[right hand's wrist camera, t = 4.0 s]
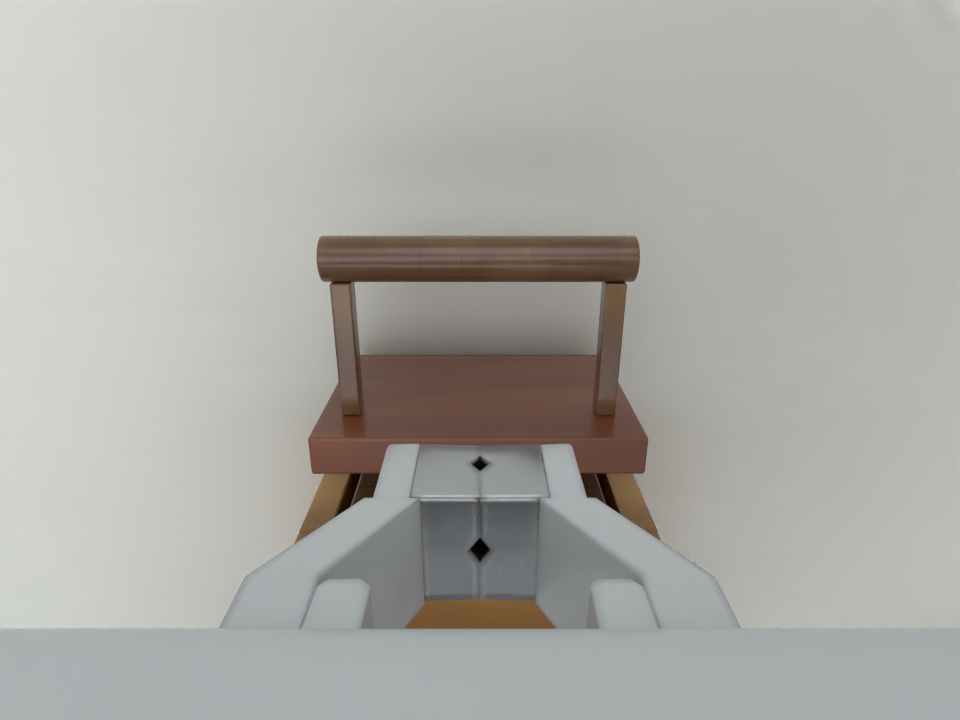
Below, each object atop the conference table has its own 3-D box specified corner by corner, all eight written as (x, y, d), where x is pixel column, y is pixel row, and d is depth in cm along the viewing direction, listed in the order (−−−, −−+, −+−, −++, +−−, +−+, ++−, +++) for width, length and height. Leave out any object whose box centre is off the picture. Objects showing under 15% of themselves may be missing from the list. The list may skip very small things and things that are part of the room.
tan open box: (348, 416, 26) (288, 552, 18) (608, 416, 26) (667, 551, 18) (374, 705, 32) (338, 904, 24) (583, 705, 32) (618, 903, 24)
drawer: (340, 211, 21) (284, 248, 15) (615, 211, 22) (671, 248, 15) (377, 657, 29) (350, 802, 23) (579, 657, 29) (606, 801, 23)
